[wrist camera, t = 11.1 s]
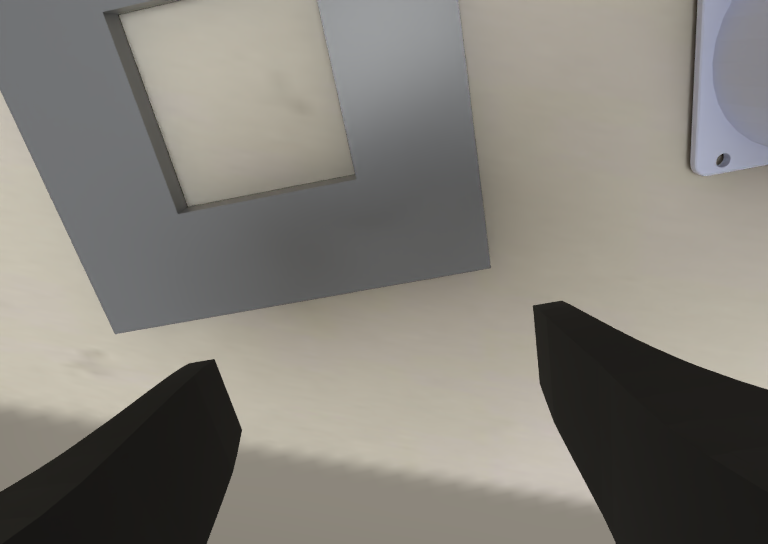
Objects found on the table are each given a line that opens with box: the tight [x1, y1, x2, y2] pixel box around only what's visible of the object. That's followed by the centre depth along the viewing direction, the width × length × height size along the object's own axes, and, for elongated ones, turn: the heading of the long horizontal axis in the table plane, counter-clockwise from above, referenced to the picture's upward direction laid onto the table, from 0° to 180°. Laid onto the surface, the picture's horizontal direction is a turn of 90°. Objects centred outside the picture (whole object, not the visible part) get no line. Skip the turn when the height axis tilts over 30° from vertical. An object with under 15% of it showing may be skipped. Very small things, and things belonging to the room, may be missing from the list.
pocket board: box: [0, 0, 491, 334], centre depth 18 cm, size 16×16×1 cm
